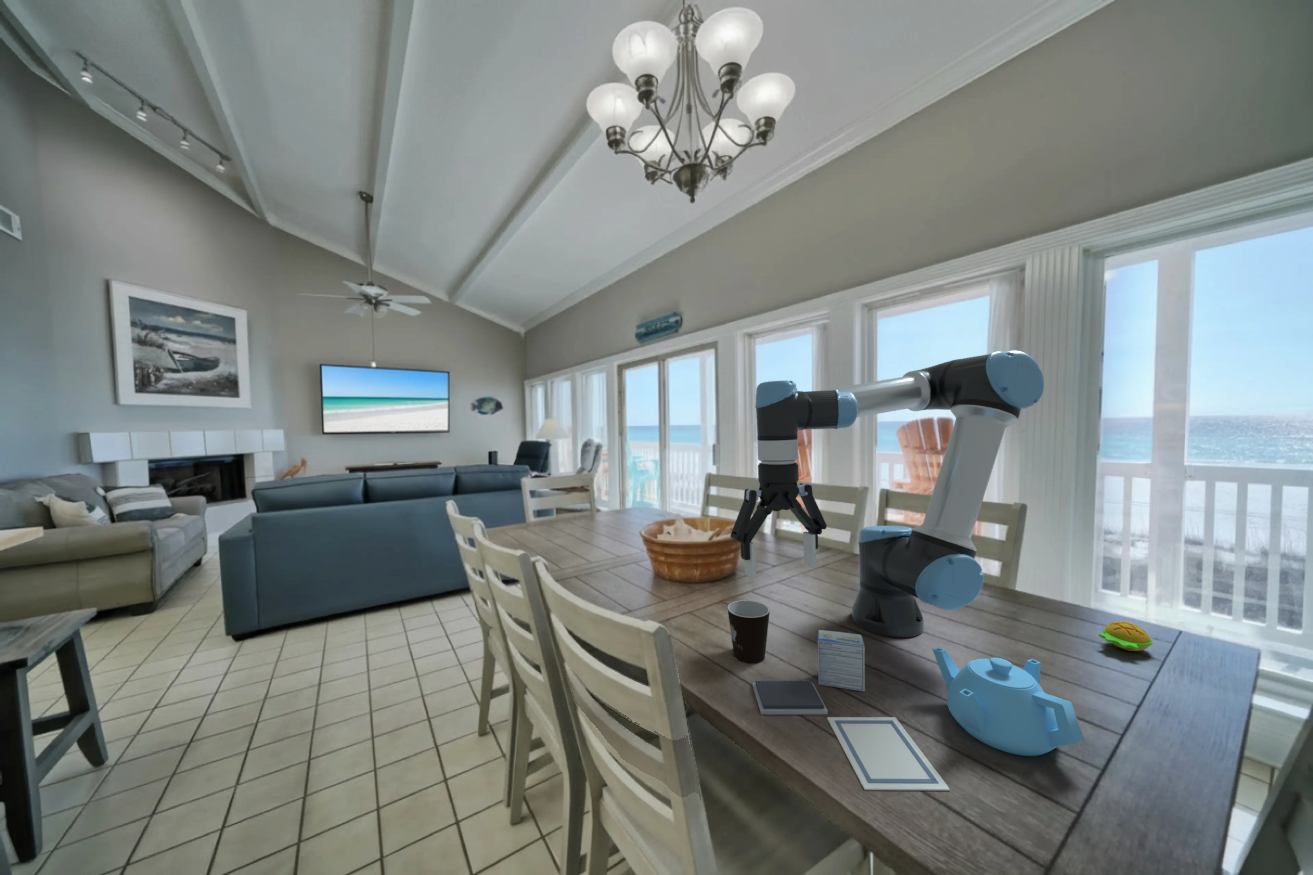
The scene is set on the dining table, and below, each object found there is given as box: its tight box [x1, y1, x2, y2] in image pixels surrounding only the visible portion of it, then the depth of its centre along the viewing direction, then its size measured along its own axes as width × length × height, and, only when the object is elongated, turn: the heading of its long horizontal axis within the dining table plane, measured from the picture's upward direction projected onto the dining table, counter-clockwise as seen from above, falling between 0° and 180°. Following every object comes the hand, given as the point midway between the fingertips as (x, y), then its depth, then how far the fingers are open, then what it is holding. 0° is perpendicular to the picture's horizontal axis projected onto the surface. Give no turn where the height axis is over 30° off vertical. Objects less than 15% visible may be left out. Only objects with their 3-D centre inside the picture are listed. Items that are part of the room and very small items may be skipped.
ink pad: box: [752, 680, 829, 715], centre depth 77 cm, size 11×8×1 cm
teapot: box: [932, 646, 1085, 757], centre depth 68 cm, size 15×15×11 cm
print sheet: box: [826, 716, 951, 792], centre depth 64 cm, size 11×14×1 cm
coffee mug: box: [727, 599, 771, 665], centre depth 93 cm, size 12×9×10 cm
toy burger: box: [1098, 620, 1153, 652], centre depth 90 cm, size 7×10×5 cm
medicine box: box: [817, 629, 866, 692], centre depth 81 cm, size 8×4×9 cm, turn 71°
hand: (781, 570), depth 85 cm, fingers open, 13 cm apart
